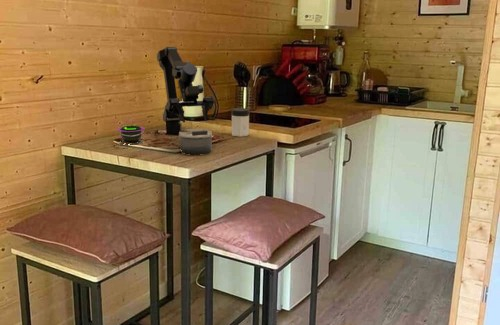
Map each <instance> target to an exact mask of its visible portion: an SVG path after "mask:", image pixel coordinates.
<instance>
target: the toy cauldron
mask: <svg viewBox="0 0 500 325" xmlns="http://www.w3.org/2000/svg"><path fill="white" fill-rule="evenodd" d="M125 120H126V121H127V118H126V119H125ZM133 121H134V120H131V119H129V120H128V122H133ZM123 123H125V122H123V121H122V123H121V125H124V124H123ZM138 123H139V124H138V125H129V124H128V125H124V126H120V127H118V128H117V132H118V133H119V134H120V137H121V138H122V140H121V141H122V143H119V145H121V146H122V145H123V144H124V142H126V144H125V145H124V146H128V144H129V143H132V144H130V145H136V144H143V141H144V140H143V139H141V138H142V136H143V133H145V128H144V127H143V126H139V125H140V124H141V122H138ZM137 142H138V143H137Z"/></svg>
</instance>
